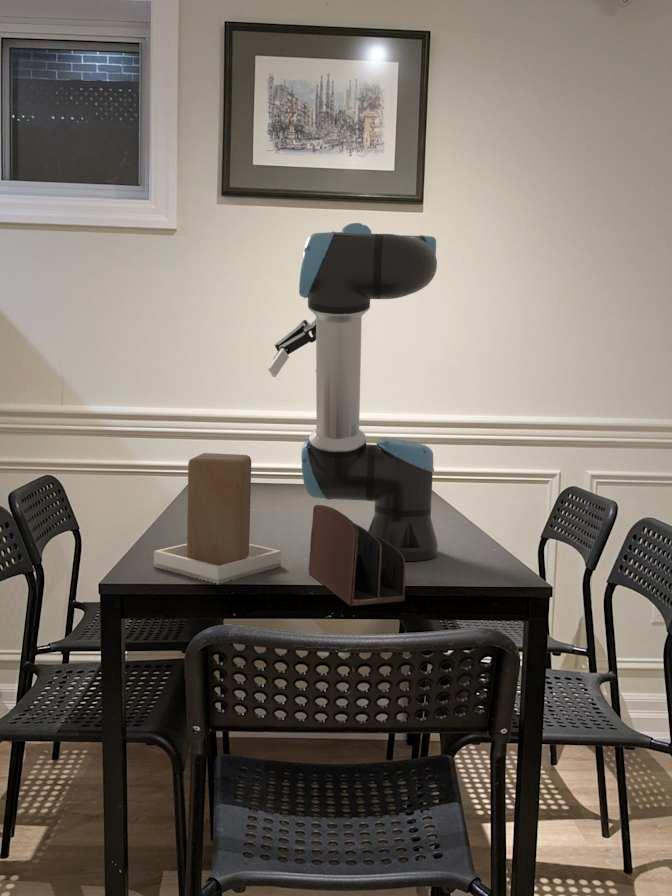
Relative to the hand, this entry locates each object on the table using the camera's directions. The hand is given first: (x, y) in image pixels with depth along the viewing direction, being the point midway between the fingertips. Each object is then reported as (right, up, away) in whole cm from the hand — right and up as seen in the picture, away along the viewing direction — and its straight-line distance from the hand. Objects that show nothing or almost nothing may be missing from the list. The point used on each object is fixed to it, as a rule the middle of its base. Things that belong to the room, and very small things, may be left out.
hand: (294, 374), depth 175 cm
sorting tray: (-13, -39, -27) cm, 49 cm away
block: (-13, -38, -27) cm, 48 cm away
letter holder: (+12, -41, -36) cm, 56 cm away
